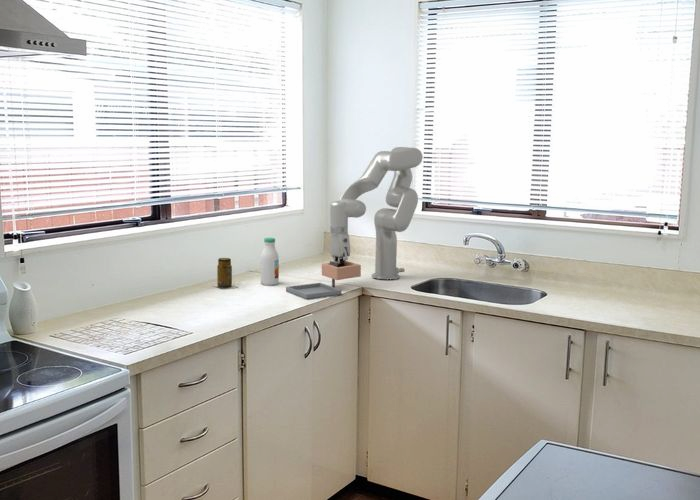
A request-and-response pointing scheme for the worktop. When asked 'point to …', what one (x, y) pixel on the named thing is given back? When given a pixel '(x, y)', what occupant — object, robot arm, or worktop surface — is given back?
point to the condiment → (224, 274)
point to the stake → (333, 279)
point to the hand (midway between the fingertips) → (339, 271)
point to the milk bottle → (269, 263)
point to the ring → (341, 271)
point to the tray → (313, 290)
